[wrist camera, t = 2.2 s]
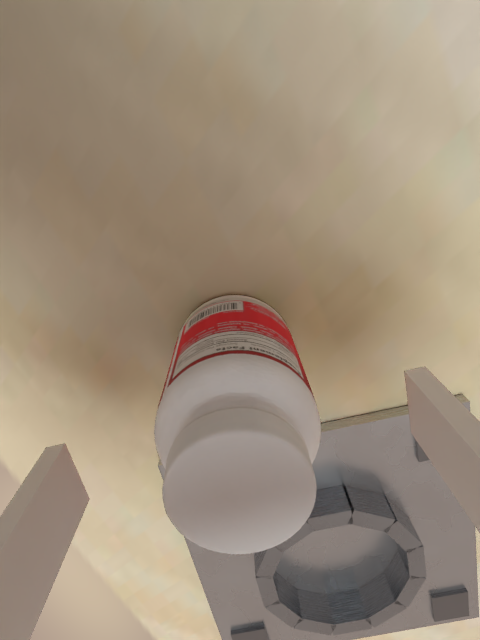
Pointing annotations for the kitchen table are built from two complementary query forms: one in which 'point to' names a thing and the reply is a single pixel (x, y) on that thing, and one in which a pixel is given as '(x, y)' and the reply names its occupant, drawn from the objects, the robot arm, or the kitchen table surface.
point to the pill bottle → (237, 429)
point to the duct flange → (354, 547)
